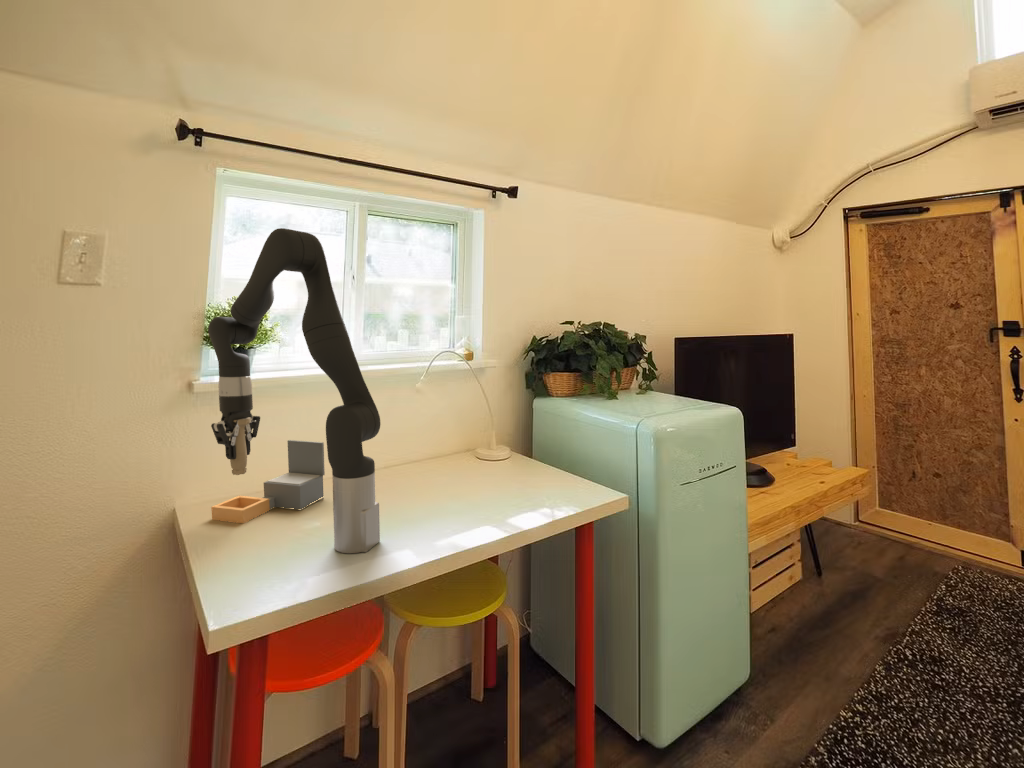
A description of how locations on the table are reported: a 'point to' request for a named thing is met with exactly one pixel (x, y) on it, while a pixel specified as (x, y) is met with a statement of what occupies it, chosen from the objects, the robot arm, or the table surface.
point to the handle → (240, 449)
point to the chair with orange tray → (282, 486)
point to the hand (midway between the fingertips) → (238, 456)
